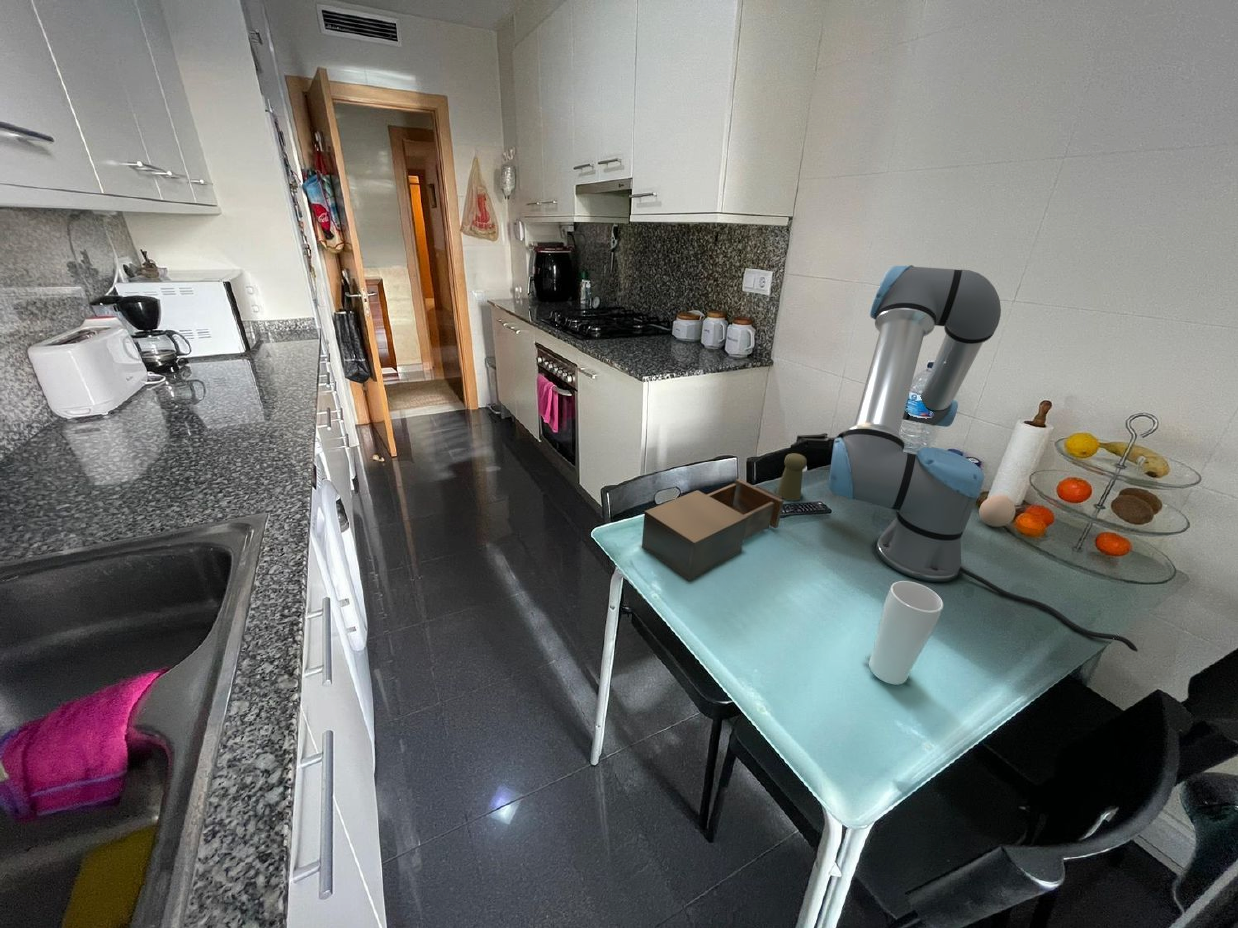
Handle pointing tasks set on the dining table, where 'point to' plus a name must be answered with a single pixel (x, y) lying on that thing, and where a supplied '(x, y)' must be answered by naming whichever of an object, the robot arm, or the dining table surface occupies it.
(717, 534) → the cabinet
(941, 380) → the robot arm
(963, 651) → the dining table surface
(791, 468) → the olive pawn figure
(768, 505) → the drawer
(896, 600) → the drinking glass
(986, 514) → the egg
